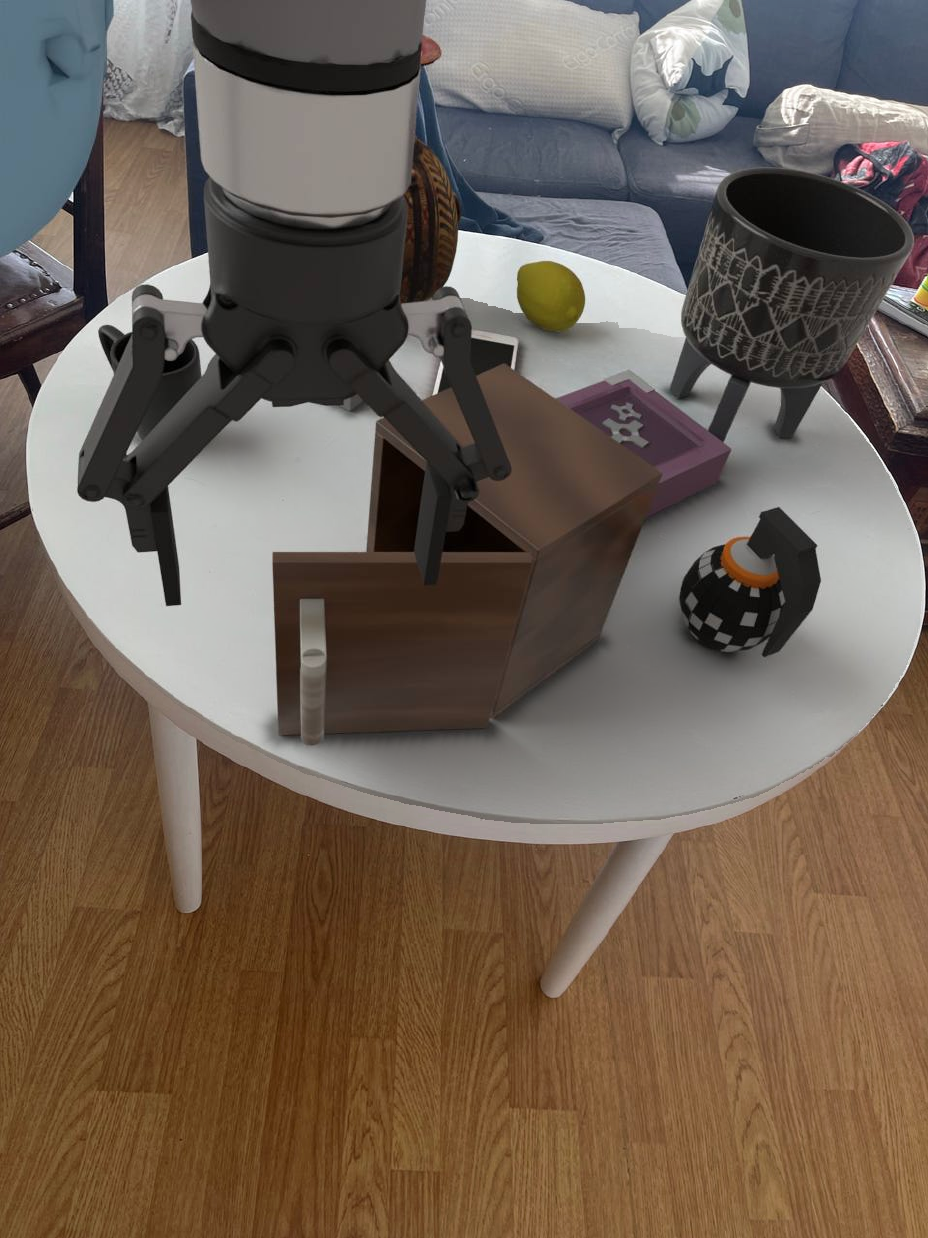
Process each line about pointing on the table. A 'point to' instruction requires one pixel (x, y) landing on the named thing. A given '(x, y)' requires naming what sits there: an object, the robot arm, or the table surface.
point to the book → (653, 434)
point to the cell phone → (484, 355)
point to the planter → (785, 286)
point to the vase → (428, 216)
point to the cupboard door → (391, 640)
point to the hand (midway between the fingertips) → (303, 577)
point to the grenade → (752, 587)
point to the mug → (173, 381)
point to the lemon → (550, 295)
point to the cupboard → (529, 516)
